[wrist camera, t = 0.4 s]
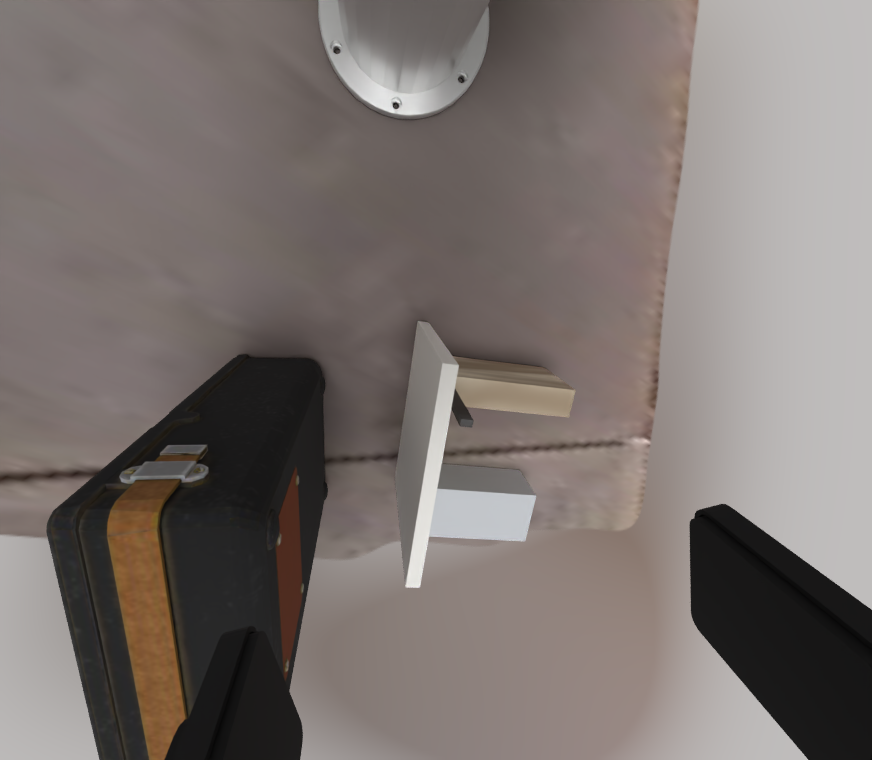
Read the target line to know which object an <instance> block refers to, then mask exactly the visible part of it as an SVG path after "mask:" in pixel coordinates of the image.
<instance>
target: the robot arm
mask: <svg viewBox="0 0 872 760" xmlns="http://www.w3.org/2000/svg"><path fill="white" fill-rule="evenodd" d="M489 2H490V0H318V19H319V25H320V31H321V36H322V40H323V44H324V48H325V51H326V54H327V56H328V58H329V60H330V63H331V65H332V67H333V69H334V71H335V72H336V74H337V76H338V77H339V79H340V80H341V82H342V83H343V85H344V86H345V87H346V88H347V89H348V90H349V91H350V92H351V93H352V94H353V96H354V97H355V98H357V99H358V100H359V101H361V102H362V103H363V104H365V105H366V106H367V107H368V108H370V109H372V110H374V111H376V112H378V113H380V114H382V115H386V116H389V117H393V118H397V119H411V120H414V119H420V118H426V117H430V116H432V115H435V114H437V113H440V112H442V111H443V110H445V109H446V108H448V107H449V106H451V105H452V104H454V103H455V102H456V101H457V100H458V99H459V98H460V97H461V96H462V95H463V94H464V93H465V92H466V91H467V89H468V88H469V86H470V85H471V83H472V82H473V80H474V79H475V77H476V75H477V73H478V71H479V69H480V67H481V65H482V62H483V59H484V56H485V53H486V49H487V43H488V37H489V7H488V4H489ZM336 48H338V49H340V53H339V54H335V53H334V50H335V49H336ZM459 77H461V78H463V81H464V82H463V83H460V82H459V81H458V78H459ZM394 103H396V104H398V105H399V108H398V109H394V108H393V106H392V105H393V104H394ZM690 571H691V572H690V574H691V575H690V576H691V614H692V618H693V621H694V623H695V625H696V627H697V628H698V630H699V631H700V632H701V634H702V635H703V636H704V637H705V638H706V639H707V641H708V642H709V643H710V644H711V646H712V647H713V648H714V649H715V650H716V651H717V653H718V654H719V655H720V656H721V657H722V658H723V660H724V661H725V662H726V663H727V664H728V665H729V667H730V668H731V669H732V670H733V671H734V673H735V674H736V675H737V676H738V677H739V678H740V680H741V681H742V682H743V683H744V684H745V685H746V687H747V688H748V689H749V690H750V691H751V692H752V694H753V695H754V696H755V697H756V698H757V700H758V701H759V702H760V703H761V704H762V706H763V707H764V708H765V709H766V710H767V711H768V712H769V714H770V715H771V716H772V717H773V719H774V720H775V721H776V722H777V723H778V724H779V726H780V727H781V728H782V729H783V730H784V731H785V733H786V734H787V735H788V736H789V737H790V739H791V740H792V741H793V742H794V743H795V744H796V745H797V747H798V748H799V749H800V750H801V751H802V753H803V754H804V755H805V756H806V757H807V759H808V760H872V610H871V609H870V608H868V607H867V606H866V605H864V604H863V603H861V602H860V601H859V600H857V599H856V598H855V597H853V596H852V595H851V594H849V593H848V592H846V591H845V590H844V589H842V588H841V587H840V586H838V585H837V584H835V583H834V582H832V581H831V580H830V579H829V578H827V577H826V576H824V575H823V574H822V573H820V572H819V571H818V570H816V569H815V568H814V567H812V566H811V565H809V564H808V563H807V562H805V561H804V560H802V559H801V558H800V557H798V556H797V555H796V554H794V553H793V552H792V551H790V550H789V549H787V548H786V547H785V546H783V545H782V544H781V543H779V542H778V541H776V540H775V539H774V538H772V537H771V536H770V535H768V534H767V533H765V532H764V531H763V530H761V529H760V528H759V527H757V526H756V525H754V524H753V523H752V522H750V521H749V520H748V519H746V518H745V517H743V516H742V515H741V514H739V513H738V512H737V511H735V510H734V509H733V508H731V507H730V506H728V505H726V504H720V505H716V506H712V507H708V508H704V509H701V510H698V511H696V513H695V518H694V519H692V520H691V521H690ZM302 738H303V732H302V724H301V720H300V718H299V715H298V713H297V710H296V707H295V705H294V702H293V700H292V697H291V695H290V692H289V690H288V687H287V685H286V682H285V680H284V677H283V675H282V672H281V670H280V667H279V665H278V662H277V660H276V657H275V655H274V652H273V650H272V647H271V645H270V642H269V640H268V637H267V635H266V633H265V632H264V631H259V632H258V631H257V630H256V628H255V627H254V626H248V627H244V628H240V629H237V630H233V631H229V632H225V633H223V634H222V635H221V637H220V639H219V641H218V643H217V646H216V649H215V651H214V654H213V656H212V659H211V662H210V664H209V667H208V669H207V672H206V675H205V677H204V680H203V682H202V685H201V687H200V690H199V693H198V695H197V698H196V700H195V703H194V706H193V708H192V711H191V713H190V716H189V718H188V719H185V720H184V721H183V722H182V723H181V724H180V725H179V727H178V729H177V731H176V733H175V735H174V737H173V739H172V742H171V744H170V747H169V749H168V752H167V754H166V757H165V759H164V760H300V756H301V748H302Z"/></svg>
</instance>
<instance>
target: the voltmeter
mask: <svg viewBox="0 0 872 760" xmlns="http://www.w3.org/2000/svg"><path fill="white" fill-rule="evenodd" d="M324 390H325V380H324V378H323V377H322V372H321V369H320V368H319V366H318V365H317V363H315V362H314V361H313V360H311V359H282V358H249V356H248V355H238V356H237V357H235V358H233V359H232V360H231V361H230V362H229V363H227V364H226V365H225V366H224V367H223V368H221V369H220V370H219V371H218V372H217V373H216V374H214V375H213V376H212V377H211V378H210V379H208V380H207V381H206V382H205V383H204V384H203V385H201V386H200V387H199V388H198V389H197V390H195V391H194V392H193V393H192V394H191V395H189V396H188V397H187V398H186V399H185V400H184V401H182V402H181V403H180V404H179V405H178V406H176V407H175V408H174V409H173V410H172V411H171V412H169V414H168V415H167V416H166V417H165V418H164V419H162V420H161V421H160V422H159V423H158V424H157V425H155V426H154V427H153V428H150V429H149V430H148V431H147V432H146V433H144V434H143V435H142V436H141V437H140V438H139V439H137V440H136V441H135V442H134V443H133V444H131V445H130V446H129V447H128V448H127V449H126V450H124V451H123V452H122V453H121V454H120V455H119V456H117V457H116V458H115V459H114V460H113V461H111V462H110V463H109V464H108V465H107V466H106V467H104V468H103V469H102V470H101V471H100V472H99V473H97V474H96V475H95V476H94V477H93V478H91V479H90V480H89V481H88V482H87V483H86V484H84V485H83V486H82V487H81V488H80V489H78V490H77V491H76V492H75V493H74V494H73V495H71V496H70V497H69V498H68V499H67V500H66V501H64V502H63V503H62V504H61V505H60V506H58V507H57V508H56V509H55V510H54V511H53V512H52V514H51V516H50V518H49V520H48V523H47V536H48V541H49V544H50V549H51V553H52V557H53V562H54V566H55V571H56V575H57V579H58V583H59V588H60V592H61V596H62V601H63V605H64V609H65V613H66V618H67V622H68V626H69V631H70V635H71V639H72V644H73V647H74V652H75V656H76V661H77V665H78V669H79V673H80V678H81V682H82V687H83V691H84V695H85V699H86V704H87V707H88V712H89V717H90V721H91V725H92V729H93V734H94V738H95V742H96V747H97V751H98V755H99V759H100V760H164V759H165V757H166V754H167V752H168V749H169V747H170V744H171V742H172V739H173V737H174V735H175V733H176V731H177V729H178V727H179V725H180V724H181V723H182V722H183V721H184V720H185V719H188V718H189V716H190V713H191V711H192V708H193V706H194V703H195V700H196V698H197V695H198V693H199V690H200V687H201V685H202V682H203V680H204V677H205V675H206V672H207V669H208V667H209V664H210V662H211V659H212V656H213V654H214V651H215V649H216V646H217V643H218V641H219V639H220V637H221V635H222V634H223V633H225V632H229V631H233V630H237V629H240V628H244V627H248V626H254V627H255V628H256V630H257V631H258V632H259V631H264V632H265V633H266V635H267V637H268V640H269V642H270V645H271V647H272V650H273V652H274V655H275V657H276V660H277V662H278V665H279V667H280V670H281V672H282V675H283V677H284V680H285V682H286V685H287V687H288V690H289V689H290V684H291V678H292V673H293V667H294V661H295V657H296V651H297V646H298V640H299V634H300V629H301V624H302V618H303V612H304V607H305V602H306V596H307V591H308V585H309V580H310V574H311V569H312V563H313V558H314V553H315V547H316V542H317V537H318V531H319V526H320V520H321V515H322V509H323V504H324V500H325V499H326V497H327V492H328V488H327V484H326V483H325V471H324V431H323V394H324Z"/></svg>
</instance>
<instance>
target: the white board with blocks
mask: <svg viewBox="0 0 872 760" xmlns="http://www.w3.org/2000/svg"><path fill="white" fill-rule="evenodd" d="M458 368H459V365H458V363H457V362H456V360H455V359H454V358H453V356H452V355H451V353H450V352H449V350H448V349H447V348H446V346H445V345H444V343H443V342H442V341H441V339H440V338H439V336H438V335H437V334H436V332H435V331H434V329H433V328H432V326H431V325H430V324H429V322H423V321H418V322H417V329H416V336H415V343H414V350H413V356H412V363H411V370H410V377H409V384H408V391H407V397H406V404H405V411H404V418H403V425H402V432H401V438H400V445H399V452H398V459H397V466H396V473H395V486H396V497H397V507H398V517H399V527H400V537H401V547H402V558H403V568H404V578H405V587H417V588H419V587H420V584H421V578H422V572H423V566H424V561H425V555H426V549H427V544H428V538H429V536H430V537H450V538H470V539H490V540H510V541H525V540H526V536H527V532H528V528H529V523H530V519H531V515H532V511H533V507H534V503H535V499H536V494H535V493H534V491H533V490H532V488H531V487H530V485H529V484H528V482H527V481H526V479H525V477H524V476H523V474H522V473H521V471H520V470H515V469H502V468H490V467H477V466H464V465H452V464H442V459H443V453H444V447H445V442H446V436H447V430H448V425H449V419H450V413H451V408H452V402H453V396H454V391H455V385H456V379H457V374H458Z"/></svg>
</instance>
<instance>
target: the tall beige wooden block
mask: <svg viewBox="0 0 872 760" xmlns="http://www.w3.org/2000/svg"><path fill="white" fill-rule="evenodd" d="M453 358H454V359H455V360H456V362H457V363H458V365H459V368H458V374H457V379H456V385H455V391H454V396H453V402H452V408H451V409H452V411H453V413H454V415H455V417H456V419H457V421H458V423H459V425H460V426H462V427H472V425H473V419H472V417H471V415H470V413H469V412H468V410H467V408H466V407H472V408H482V409H492V410H502V411H511V412H521V413H531V414H540V415H550V416H560V417H569V414H570V410H571V406H572V402H573V398H574V394H575V391H576V390H575V389H573V388H572V387H570V386H569V385H568V384H566V383H565V382H564V381H562V380H561V379H559V378H558V377H557V376H555V375H554V374H553V373H551V372H550V371H548V370H547V369H546V368H544V367H536V366H528V365H520V364H512V363H503V362H495V361H487V360H479V359H471V358H463V357H455V356H453Z"/></svg>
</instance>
